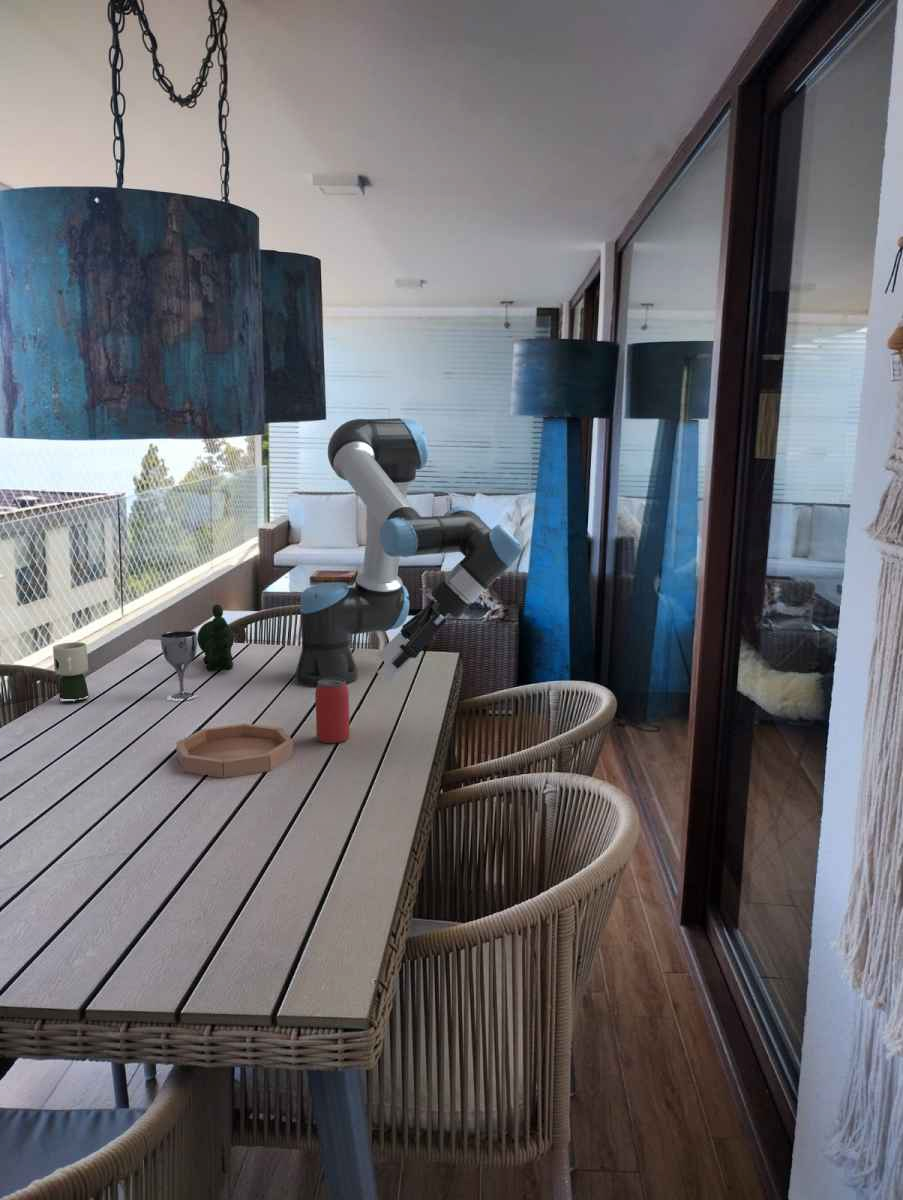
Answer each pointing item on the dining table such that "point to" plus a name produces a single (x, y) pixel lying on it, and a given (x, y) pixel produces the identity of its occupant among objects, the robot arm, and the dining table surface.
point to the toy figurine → (216, 641)
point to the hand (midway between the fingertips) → (382, 668)
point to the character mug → (71, 669)
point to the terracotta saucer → (234, 750)
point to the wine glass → (179, 654)
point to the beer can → (332, 710)
